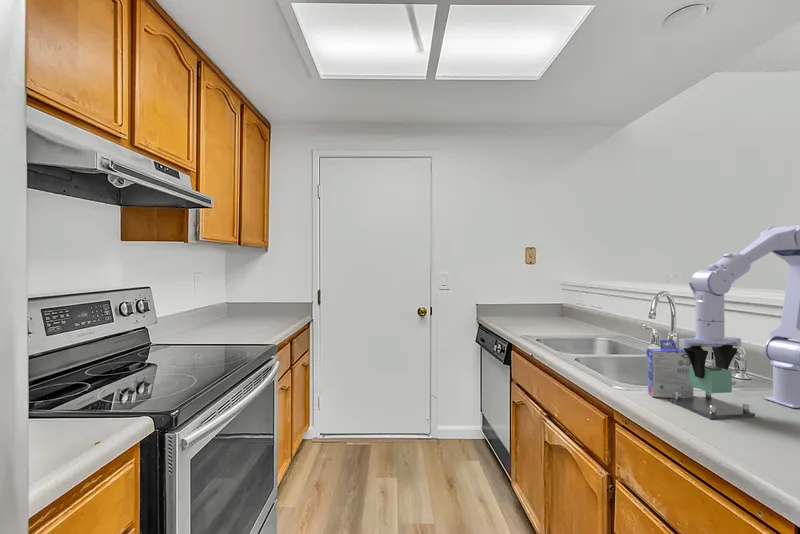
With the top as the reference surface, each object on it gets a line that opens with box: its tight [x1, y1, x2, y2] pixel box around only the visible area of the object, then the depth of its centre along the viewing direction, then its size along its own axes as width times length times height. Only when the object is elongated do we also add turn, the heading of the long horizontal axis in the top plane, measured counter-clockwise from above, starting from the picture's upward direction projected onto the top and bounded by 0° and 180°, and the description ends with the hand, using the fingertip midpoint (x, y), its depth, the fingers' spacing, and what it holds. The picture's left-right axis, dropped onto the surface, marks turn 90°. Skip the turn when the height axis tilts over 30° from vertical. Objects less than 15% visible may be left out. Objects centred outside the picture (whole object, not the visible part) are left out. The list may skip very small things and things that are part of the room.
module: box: [690, 364, 733, 394], centre depth 109 cm, size 5×7×5 cm
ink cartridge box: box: [646, 339, 694, 399], centre depth 121 cm, size 10×6×14 cm, turn 78°
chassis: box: [670, 391, 756, 420], centre depth 109 cm, size 11×13×3 cm
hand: (710, 376), depth 109 cm, fingers closed on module, 5 cm apart
